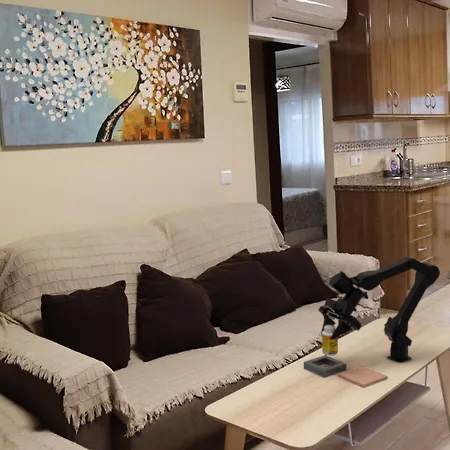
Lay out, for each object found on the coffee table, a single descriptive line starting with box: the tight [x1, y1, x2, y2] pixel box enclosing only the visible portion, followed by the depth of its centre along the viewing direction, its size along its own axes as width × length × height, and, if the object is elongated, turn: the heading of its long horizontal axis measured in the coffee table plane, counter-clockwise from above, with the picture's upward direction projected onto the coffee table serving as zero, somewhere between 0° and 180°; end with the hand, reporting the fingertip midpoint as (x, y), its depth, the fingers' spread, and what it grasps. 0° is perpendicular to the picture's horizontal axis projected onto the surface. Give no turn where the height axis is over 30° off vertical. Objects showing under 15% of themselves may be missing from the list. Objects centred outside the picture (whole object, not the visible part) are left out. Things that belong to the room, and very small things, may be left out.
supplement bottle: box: [321, 325, 339, 357], centre depth 215 cm, size 6×6×10 cm
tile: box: [337, 365, 389, 388], centre depth 209 cm, size 12×12×1 cm
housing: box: [303, 354, 348, 378], centre depth 218 cm, size 11×11×2 cm
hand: (326, 336), depth 214 cm, fingers closed on supplement bottle, 5 cm apart
